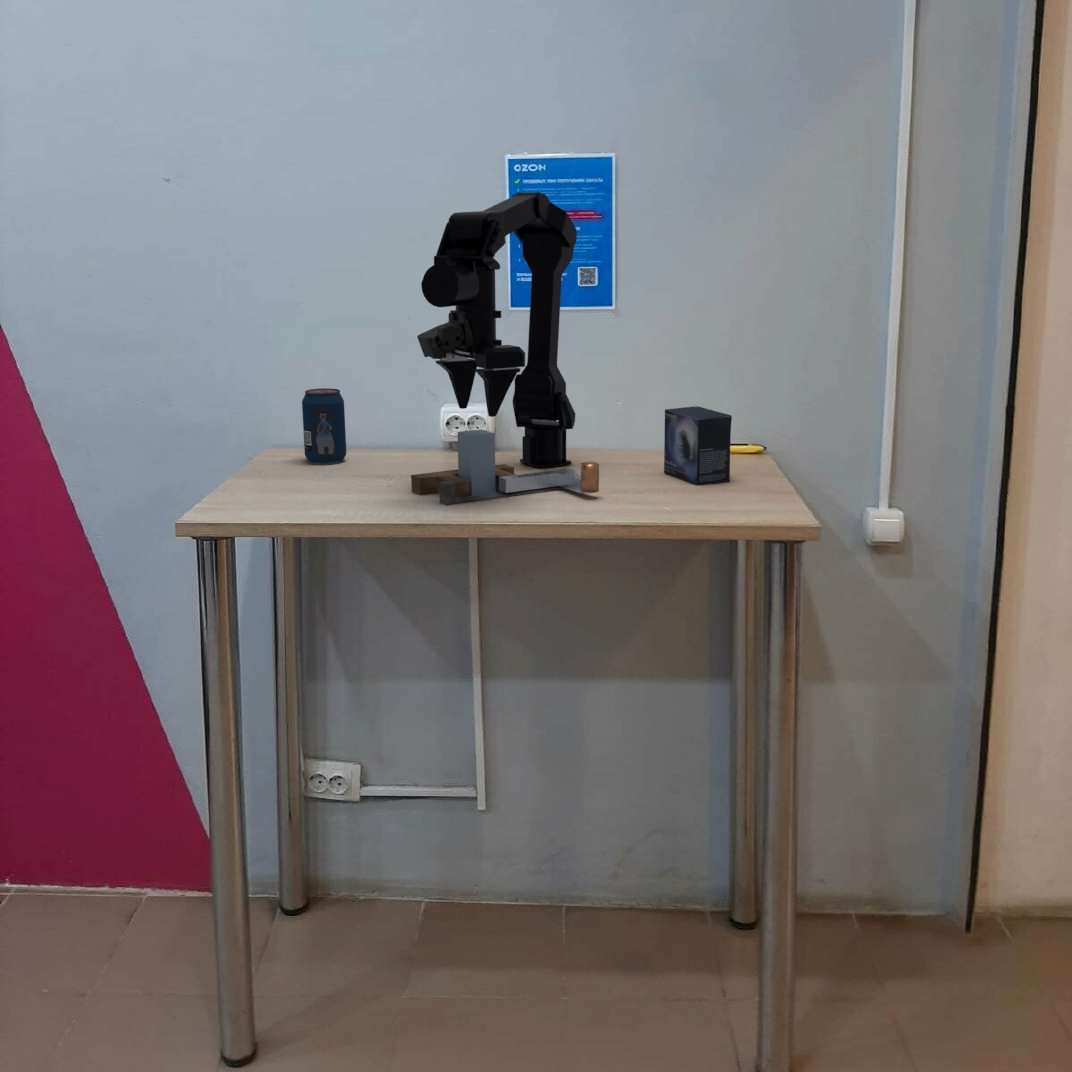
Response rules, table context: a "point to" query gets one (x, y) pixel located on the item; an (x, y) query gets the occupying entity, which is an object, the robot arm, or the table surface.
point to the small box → (697, 445)
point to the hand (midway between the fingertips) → (477, 412)
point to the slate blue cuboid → (477, 460)
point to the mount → (463, 486)
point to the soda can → (324, 426)
